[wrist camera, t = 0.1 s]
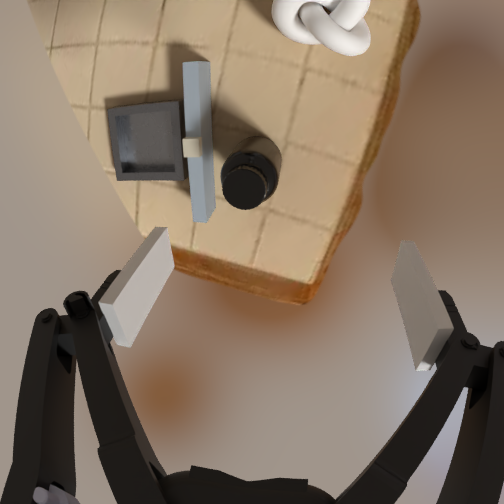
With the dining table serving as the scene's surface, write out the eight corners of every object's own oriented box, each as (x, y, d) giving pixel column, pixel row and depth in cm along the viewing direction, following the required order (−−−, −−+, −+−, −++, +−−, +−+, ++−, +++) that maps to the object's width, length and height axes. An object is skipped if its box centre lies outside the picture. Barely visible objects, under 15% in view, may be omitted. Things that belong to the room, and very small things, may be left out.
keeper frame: (116, 106, 41) (107, 109, 38) (185, 99, 39) (178, 101, 37) (124, 175, 47) (117, 180, 45) (189, 174, 45) (184, 180, 43)
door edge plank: (195, 62, 36) (178, 62, 31) (210, 61, 36) (195, 60, 31) (203, 207, 48) (190, 225, 43) (216, 207, 48) (204, 226, 42)
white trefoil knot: (391, 32, 29) (412, 24, 22) (322, 79, 35) (328, 80, 28) (333, -30, 26) (340, -53, 18) (264, 17, 31) (254, 4, 24)
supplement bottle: (240, 184, 45) (219, 222, 35) (229, 140, 42) (203, 165, 32) (286, 178, 43) (280, 214, 33) (278, 131, 40) (268, 153, 30)
